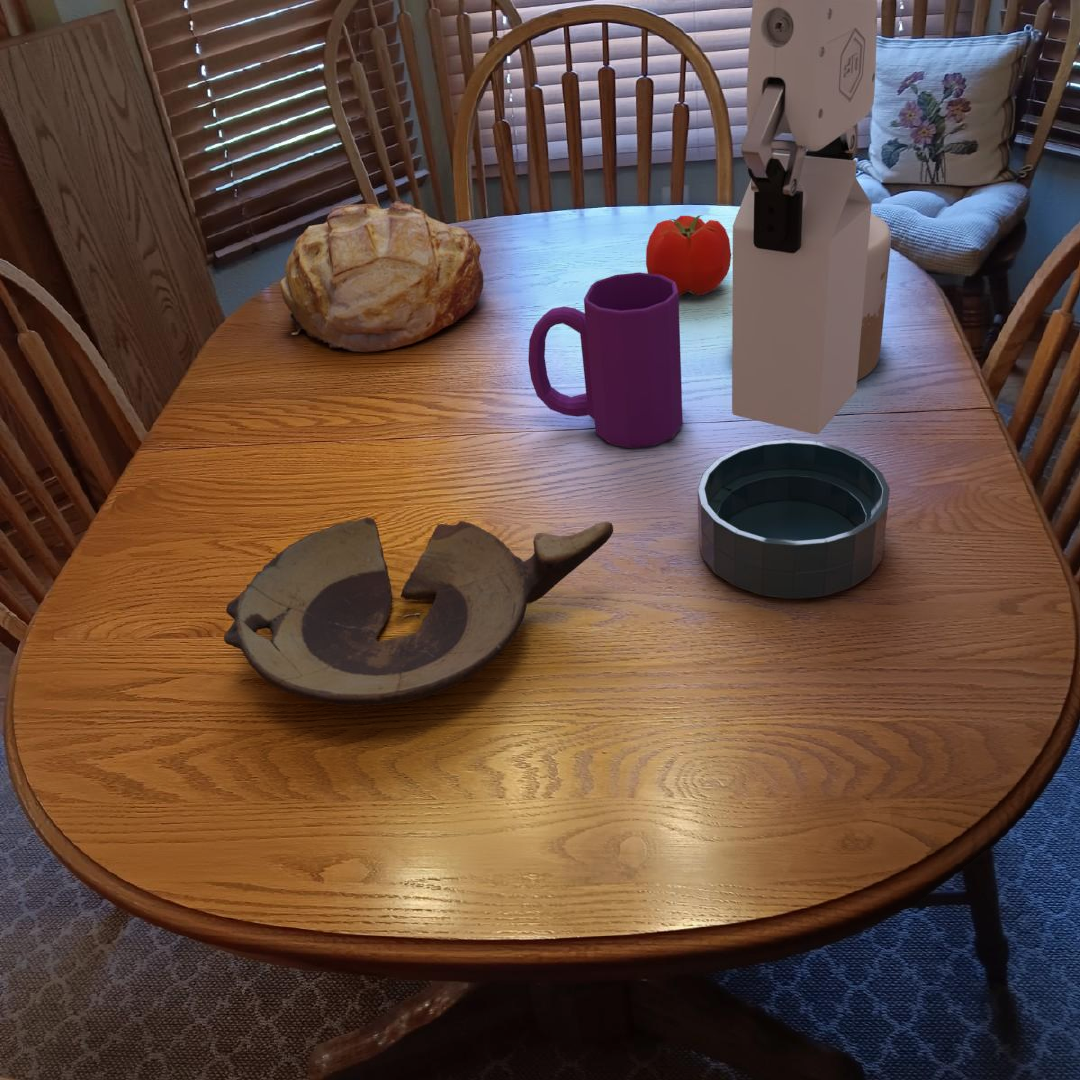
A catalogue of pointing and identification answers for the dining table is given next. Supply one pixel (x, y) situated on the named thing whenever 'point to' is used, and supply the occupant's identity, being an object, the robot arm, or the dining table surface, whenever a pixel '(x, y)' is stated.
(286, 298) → the bread
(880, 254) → the vase
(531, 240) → the dining table surface
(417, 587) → the broken pan
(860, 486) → the shallow pet bowl
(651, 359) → the mug
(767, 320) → the milk carton
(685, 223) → the tomato
